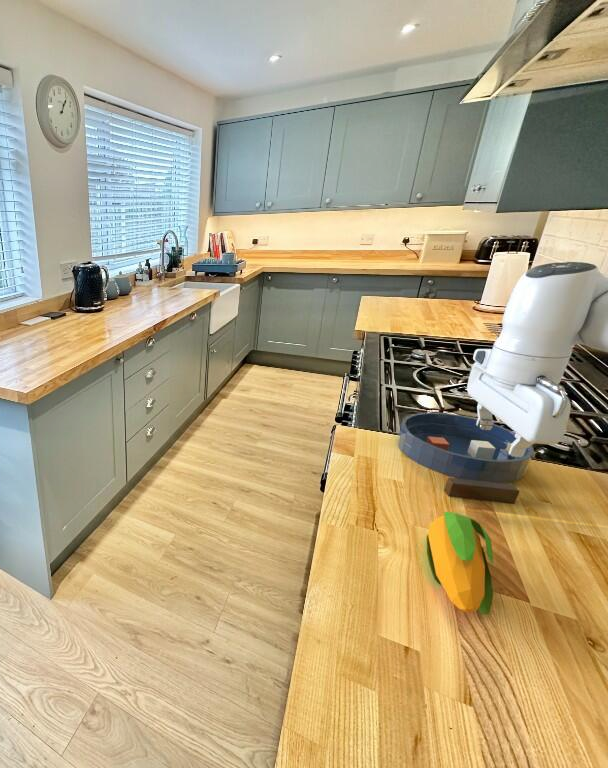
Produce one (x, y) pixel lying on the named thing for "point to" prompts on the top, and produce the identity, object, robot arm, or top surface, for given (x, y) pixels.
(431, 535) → the corn
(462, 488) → the brown bar
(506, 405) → the robot arm
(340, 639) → the top surface
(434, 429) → the bowl
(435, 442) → the terracotta block
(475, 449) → the cream block
